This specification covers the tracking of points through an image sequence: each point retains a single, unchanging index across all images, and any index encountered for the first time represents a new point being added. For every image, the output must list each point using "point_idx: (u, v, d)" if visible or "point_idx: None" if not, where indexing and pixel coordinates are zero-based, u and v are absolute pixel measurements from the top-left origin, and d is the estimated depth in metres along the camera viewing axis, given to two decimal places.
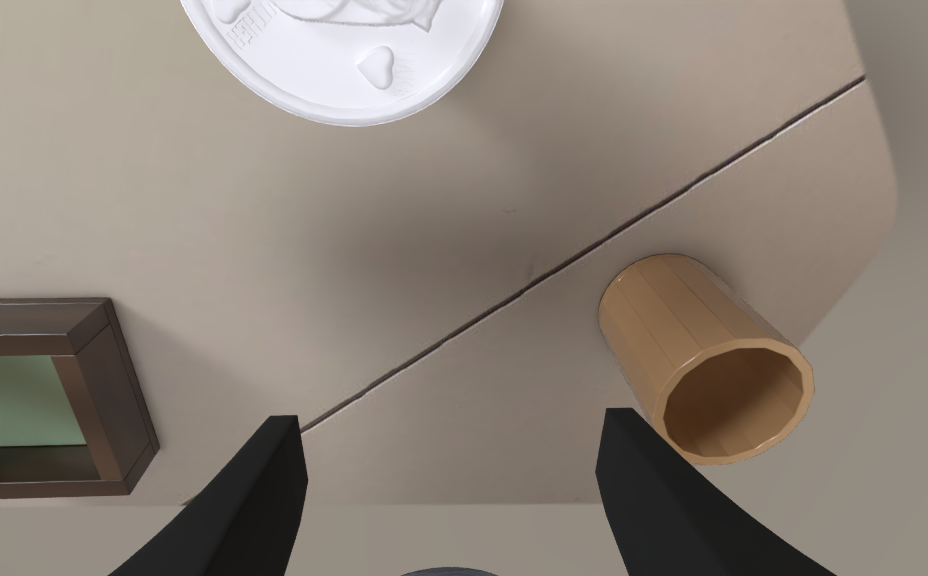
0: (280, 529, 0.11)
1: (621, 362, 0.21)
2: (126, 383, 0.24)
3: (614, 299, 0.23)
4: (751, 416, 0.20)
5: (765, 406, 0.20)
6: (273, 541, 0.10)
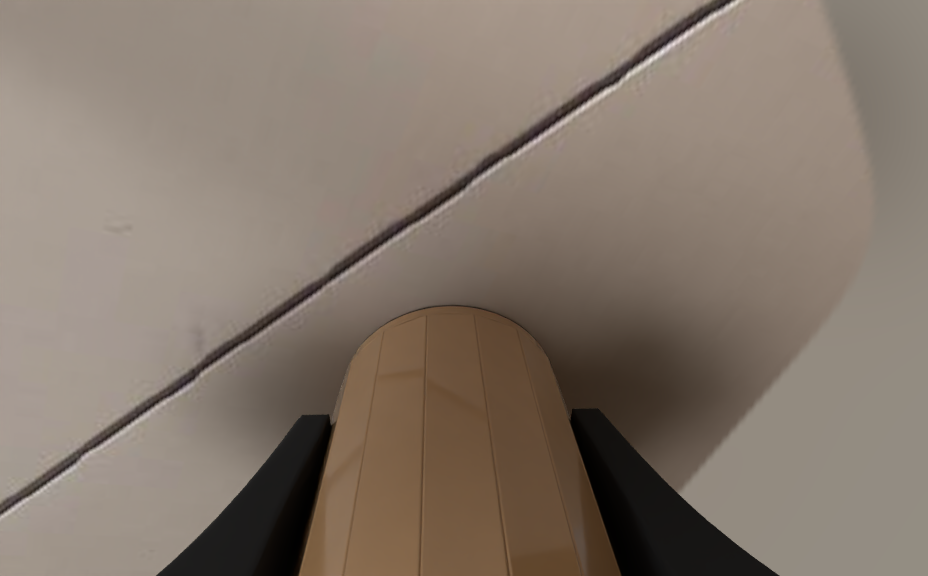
0: None
1: None
2: None
3: (341, 393, 0.12)
4: None
5: None
6: None
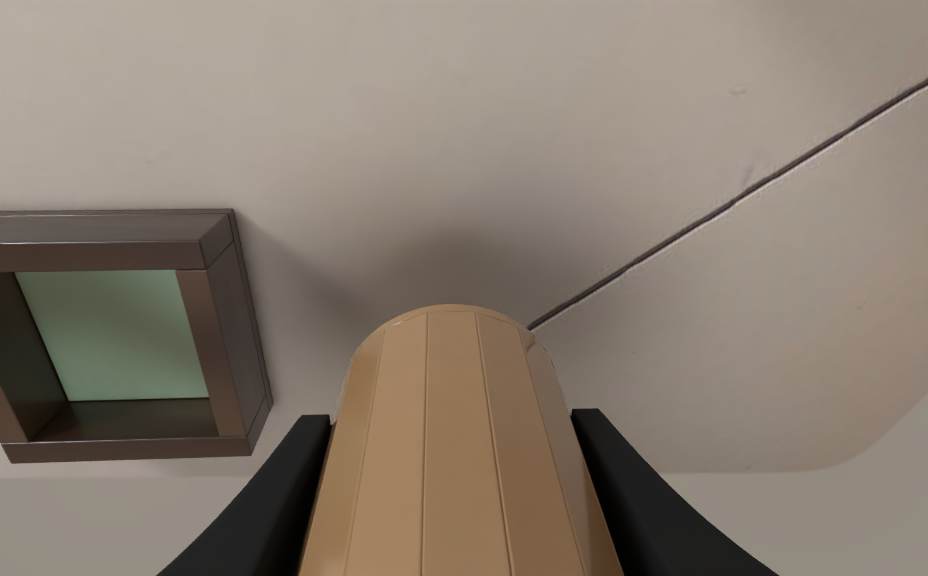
0: None
1: None
2: (247, 319, 0.20)
3: (342, 391, 0.12)
4: None
5: None
6: None
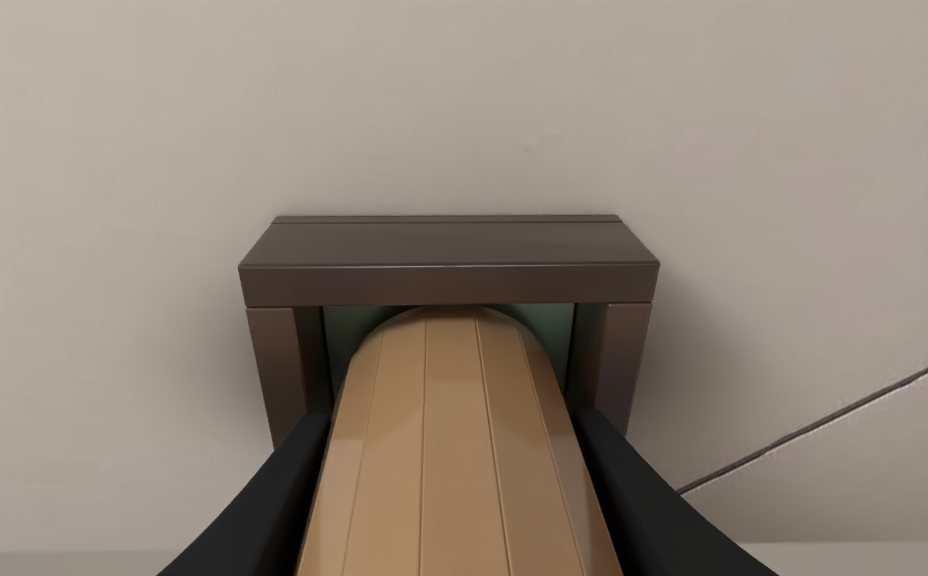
0: None
1: None
2: None
3: (341, 390, 0.12)
4: None
5: None
6: None
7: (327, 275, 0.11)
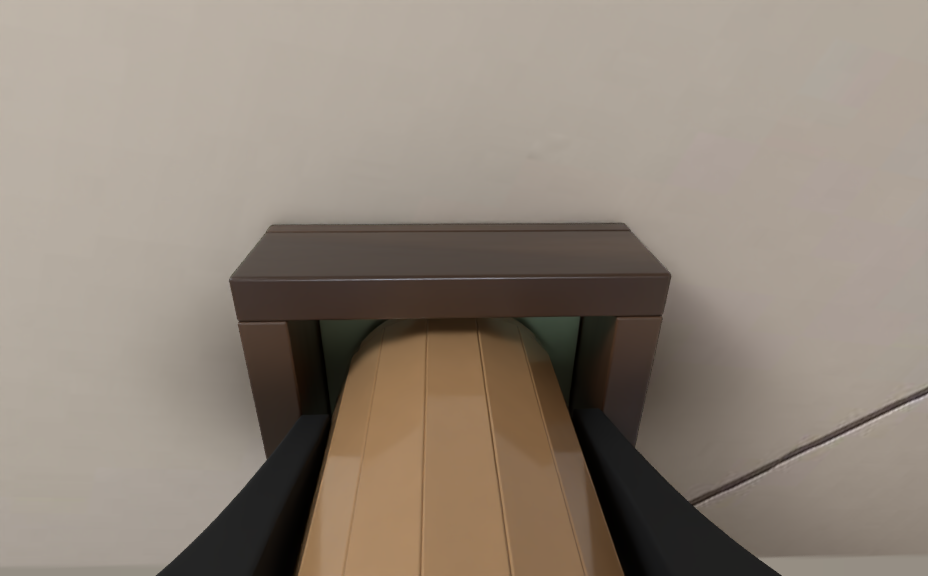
0: None
1: None
2: None
3: (341, 390, 0.12)
4: None
5: None
6: None
7: (323, 288, 0.10)
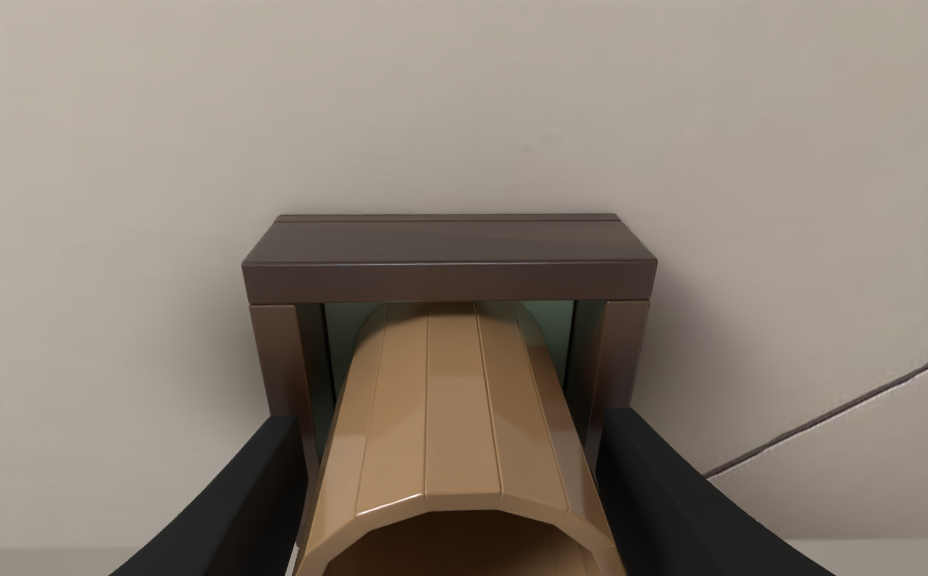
0: (281, 529, 0.11)
1: None
2: None
3: (350, 357, 0.13)
4: None
5: None
6: (274, 541, 0.10)
7: (329, 272, 0.11)
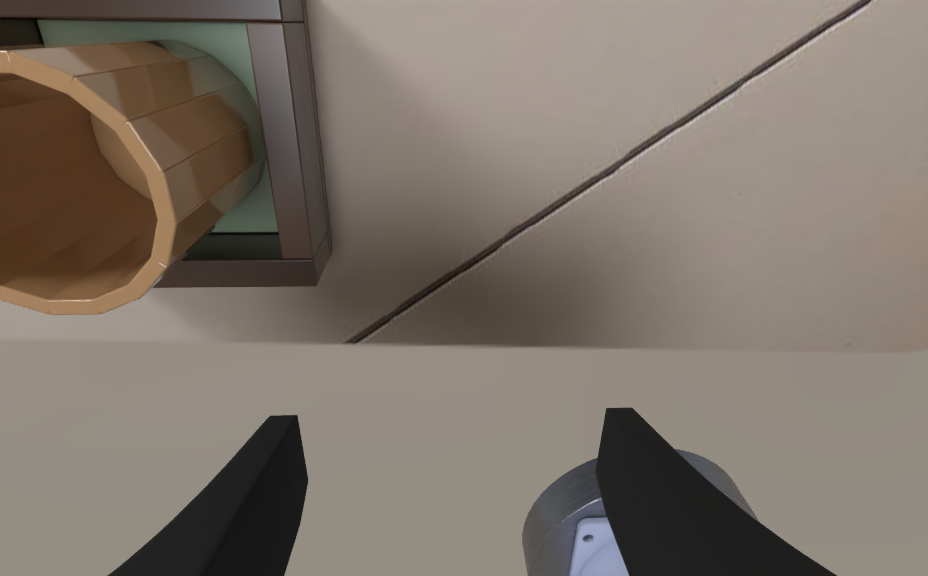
0: (280, 529, 0.11)
1: None
2: (313, 127, 0.17)
3: None
4: None
5: None
6: (273, 541, 0.10)
7: None
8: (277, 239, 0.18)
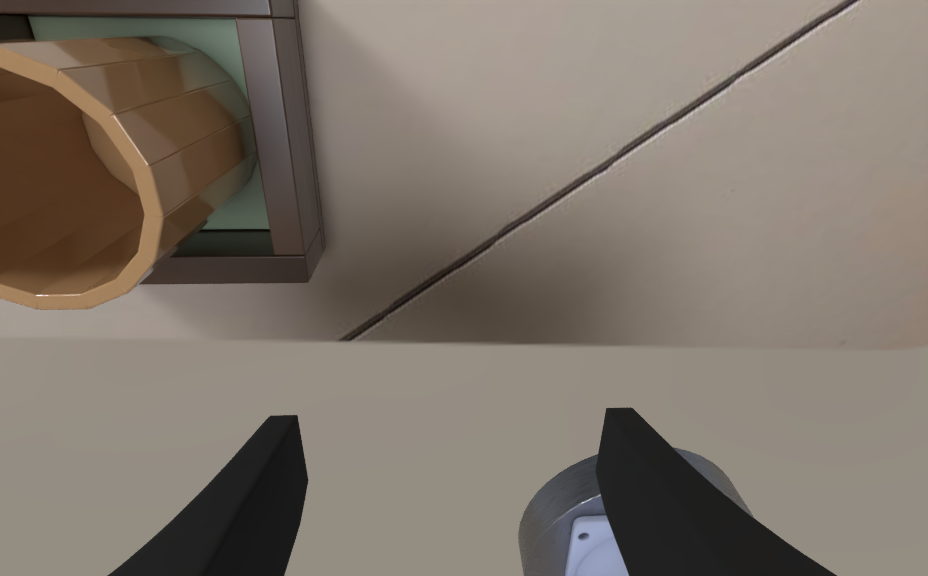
0: (280, 529, 0.11)
1: None
2: (305, 123, 0.17)
3: None
4: None
5: None
6: (273, 541, 0.10)
7: None
8: (270, 236, 0.18)
